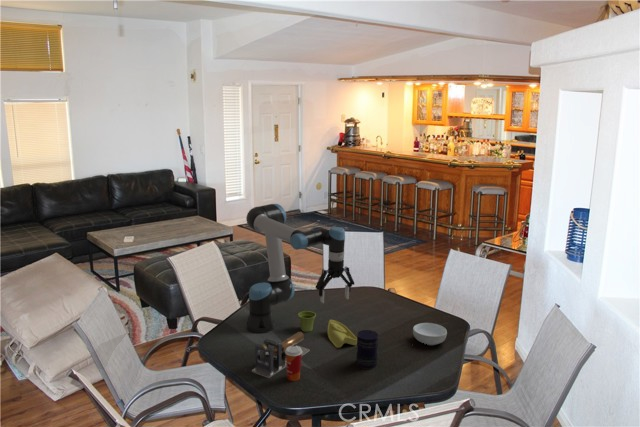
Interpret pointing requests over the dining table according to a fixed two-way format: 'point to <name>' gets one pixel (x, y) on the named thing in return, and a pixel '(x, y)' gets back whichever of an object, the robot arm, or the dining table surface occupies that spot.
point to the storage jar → (367, 349)
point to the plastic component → (340, 334)
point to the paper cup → (293, 362)
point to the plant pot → (306, 320)
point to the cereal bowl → (429, 333)
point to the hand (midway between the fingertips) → (334, 300)
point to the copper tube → (289, 342)
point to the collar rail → (271, 359)
